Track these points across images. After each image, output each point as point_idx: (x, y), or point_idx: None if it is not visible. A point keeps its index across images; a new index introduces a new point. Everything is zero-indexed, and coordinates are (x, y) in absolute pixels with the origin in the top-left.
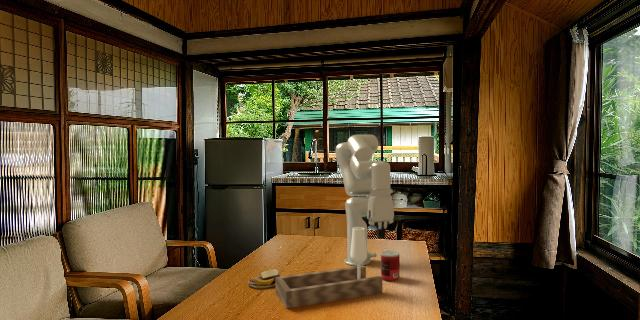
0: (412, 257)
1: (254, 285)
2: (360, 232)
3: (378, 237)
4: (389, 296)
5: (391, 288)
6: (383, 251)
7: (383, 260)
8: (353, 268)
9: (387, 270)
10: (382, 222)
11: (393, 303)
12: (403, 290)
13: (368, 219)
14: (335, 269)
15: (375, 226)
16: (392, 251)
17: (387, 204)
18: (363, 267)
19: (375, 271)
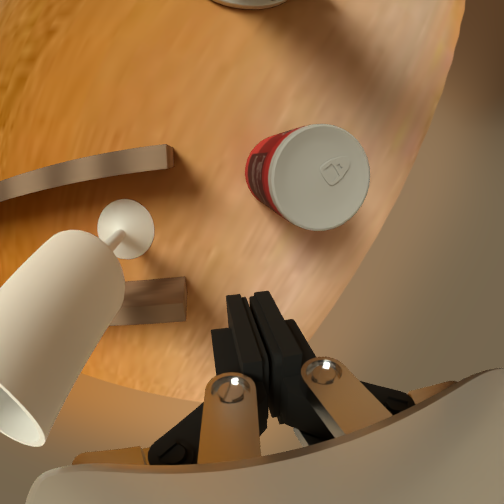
0: (429, 43)
1: None
2: (26, 425)
3: (227, 311)
4: (198, 318)
5: (235, 263)
6: (305, 130)
7: (263, 190)
8: (103, 174)
9: (264, 203)
10: (342, 427)
11: (190, 357)
12: (263, 288)
13: (55, 476)
14: (34, 171)
15: (190, 422)
16: (353, 148)
17: None
18: (154, 169)
19: (264, 75)
